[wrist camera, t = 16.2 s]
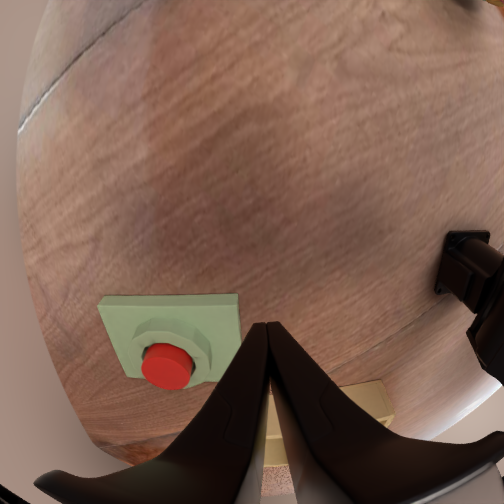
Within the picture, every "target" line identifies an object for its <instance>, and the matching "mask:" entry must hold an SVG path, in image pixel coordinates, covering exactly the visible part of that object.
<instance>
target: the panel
mask: <svg viewBox="0 0 504 504" xmlns="http://www.w3.org/2000/svg"><path fill="white" fill-rule="evenodd" d="M97 307H98V309H99V312H100V315H101V318H102V320H103V323H104V325H105V328H106V330H107V333H108V335H109V338H110V340H111V342H112V345H113V347H114V349H115V352H116V354H117V356H118V358H119V361H120V363H121V365H122V367H123V369H124V371H125V373H126V375H127V377H133V378H143V379H146V378H145V377H144V375H143V374H142V371H141V365H142V362H143V360H144V357H145V354H146V351H147V349H148V348H149V347H150V346H151V345H153V344H156V343H170V344H172V345H174V346H177V347H179V348H182V349H184V350H185V351H186V352H187V353H188V354H189V355H190V357H191V359H192V363H193V365H192V371H191V376H190V381H189V383H188V385H187V386H185V387H184V388H183V389H186V388H190V387H193V386H195V385H198V384H201V383H203V382H204V381H205V382H219V380H220V379H221V377H222V376H223V374H224V372H225V371H226V369H227V367H228V366H229V364H230V362H231V361H232V359H233V357H234V356H235V354H236V352H237V351H238V349H239V347H240V346H241V344H242V337H241V326H240V313H239V301H238V294H237V293H234V294H206V295H157V296H104V297H103V298H102V300H101V301H100V303H99V304H98V305H97Z"/></svg>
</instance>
